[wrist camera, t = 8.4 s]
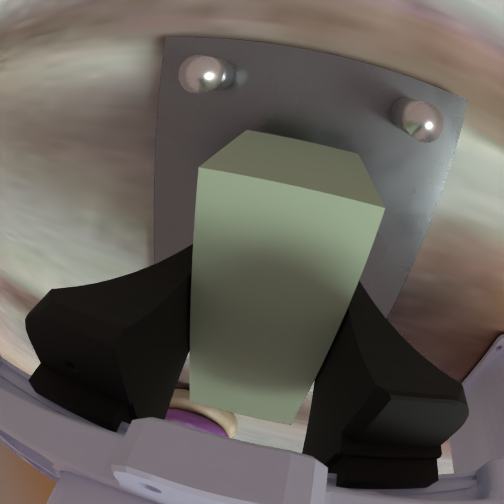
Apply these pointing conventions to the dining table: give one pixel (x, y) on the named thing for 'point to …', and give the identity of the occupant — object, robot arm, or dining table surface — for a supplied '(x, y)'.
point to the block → (274, 269)
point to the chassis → (305, 135)
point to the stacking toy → (200, 415)
